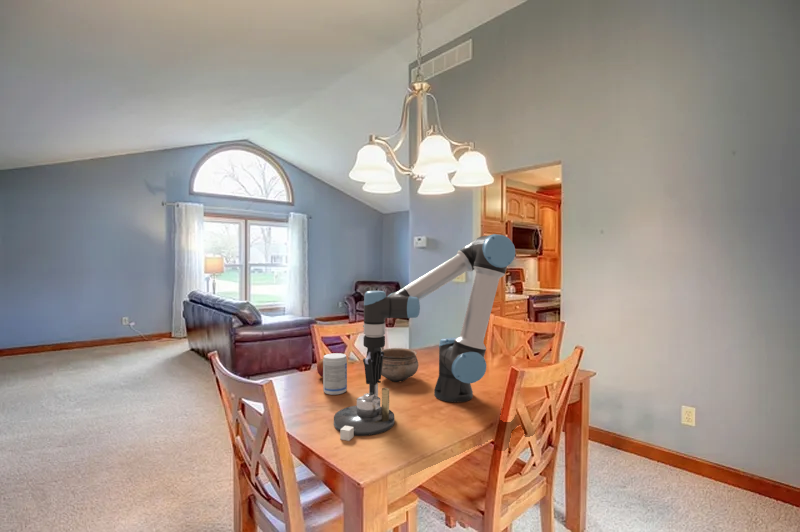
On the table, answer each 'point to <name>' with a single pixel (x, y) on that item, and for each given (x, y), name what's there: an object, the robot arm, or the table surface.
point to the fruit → (320, 367)
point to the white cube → (347, 433)
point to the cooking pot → (399, 364)
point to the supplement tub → (334, 373)
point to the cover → (368, 405)
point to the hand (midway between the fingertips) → (373, 402)
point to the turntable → (366, 418)
